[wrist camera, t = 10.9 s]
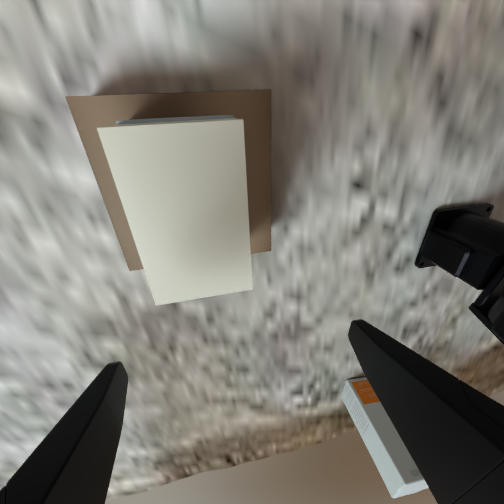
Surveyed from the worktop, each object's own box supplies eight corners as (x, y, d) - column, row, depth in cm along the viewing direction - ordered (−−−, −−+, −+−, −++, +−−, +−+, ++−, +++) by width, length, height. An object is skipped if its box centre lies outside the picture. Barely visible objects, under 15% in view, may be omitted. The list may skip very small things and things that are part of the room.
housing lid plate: (233, 118, 11) (243, 119, 9) (244, 264, 15) (252, 289, 13) (116, 124, 10) (96, 127, 8) (161, 276, 14) (155, 305, 12)
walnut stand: (258, 93, 15) (271, 89, 13) (261, 233, 20) (271, 250, 18) (89, 99, 14) (65, 96, 11) (138, 249, 19) (129, 270, 16)
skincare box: (381, 372, 37) (452, 472, 26) (372, 388, 39) (435, 487, 29) (345, 378, 35) (406, 485, 25) (338, 395, 37) (392, 500, 27)
